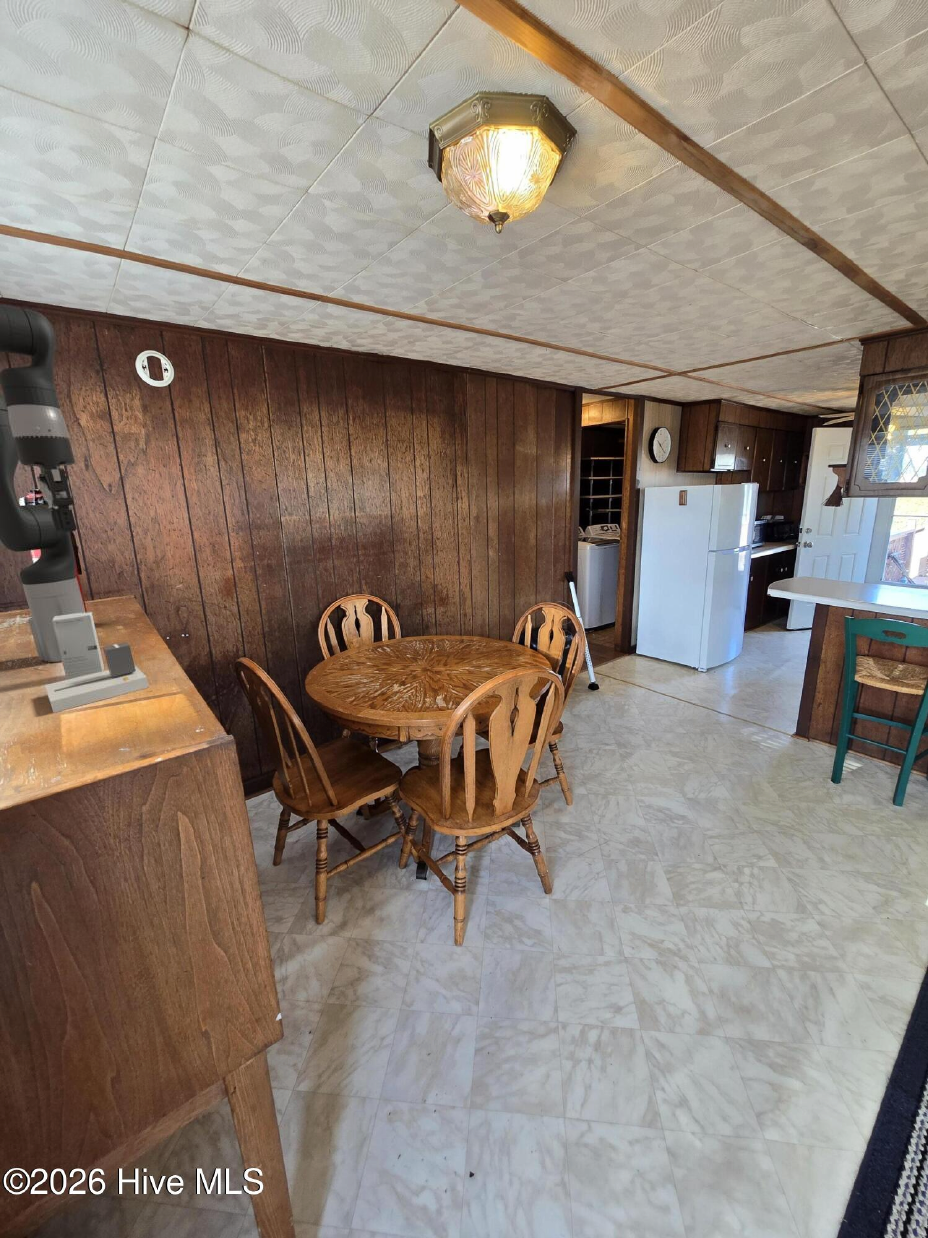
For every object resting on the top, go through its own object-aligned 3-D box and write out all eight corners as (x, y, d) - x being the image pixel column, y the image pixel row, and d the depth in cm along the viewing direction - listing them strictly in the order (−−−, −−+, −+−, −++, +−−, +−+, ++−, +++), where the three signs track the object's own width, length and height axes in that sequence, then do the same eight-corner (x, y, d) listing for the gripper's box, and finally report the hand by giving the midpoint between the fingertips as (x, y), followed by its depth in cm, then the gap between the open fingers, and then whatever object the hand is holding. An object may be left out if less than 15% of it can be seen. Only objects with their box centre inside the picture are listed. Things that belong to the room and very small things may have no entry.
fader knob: (112, 677, 89) (105, 650, 87) (109, 673, 91) (102, 646, 89) (135, 671, 91) (129, 644, 90) (132, 667, 93) (126, 641, 92)
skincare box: (66, 681, 95) (49, 620, 92) (68, 674, 99) (52, 616, 96) (105, 673, 98) (89, 614, 95) (106, 667, 102) (91, 610, 99)
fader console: (53, 712, 80) (50, 701, 80) (47, 695, 88) (44, 684, 88) (149, 687, 89) (146, 676, 89) (135, 673, 97) (133, 663, 96)
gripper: (73, 431, 83) (97, 529, 87) (64, 441, 93) (85, 528, 97) (14, 430, 78) (43, 534, 82) (11, 440, 88) (36, 532, 92)
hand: (66, 531), depth 89 cm, fingers open, 8 cm apart
